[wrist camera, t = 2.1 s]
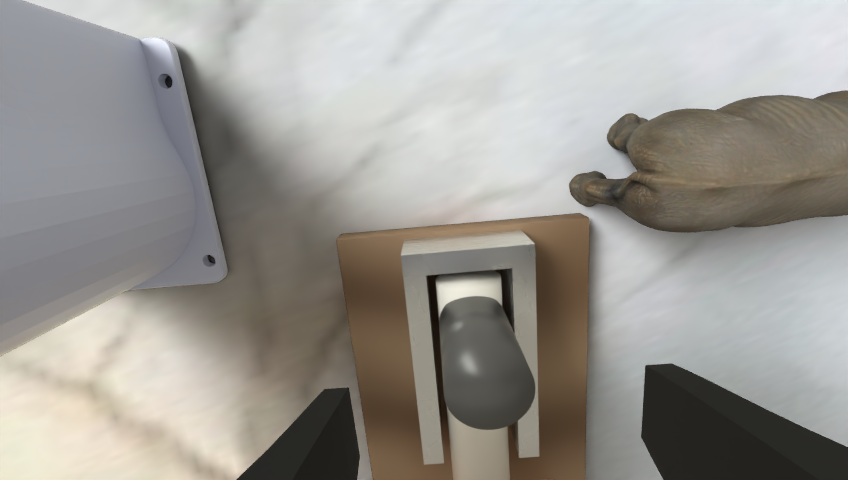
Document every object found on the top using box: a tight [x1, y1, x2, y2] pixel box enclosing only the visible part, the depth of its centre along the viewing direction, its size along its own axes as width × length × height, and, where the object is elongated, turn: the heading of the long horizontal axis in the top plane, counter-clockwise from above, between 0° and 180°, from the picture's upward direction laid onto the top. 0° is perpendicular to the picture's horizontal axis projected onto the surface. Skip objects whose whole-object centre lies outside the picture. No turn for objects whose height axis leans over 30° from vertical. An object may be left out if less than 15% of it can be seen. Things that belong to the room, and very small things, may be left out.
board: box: [336, 213, 589, 480], centre depth 18 cm, size 18×10×1 cm, turn 5°
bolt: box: [435, 270, 536, 480], centre depth 14 cm, size 9×2×6 cm, turn 5°
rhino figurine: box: [569, 91, 848, 232], centre depth 13 cm, size 4×14×6 cm, turn 96°
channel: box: [401, 229, 539, 465], centre depth 16 cm, size 9×5×2 cm, turn 5°
